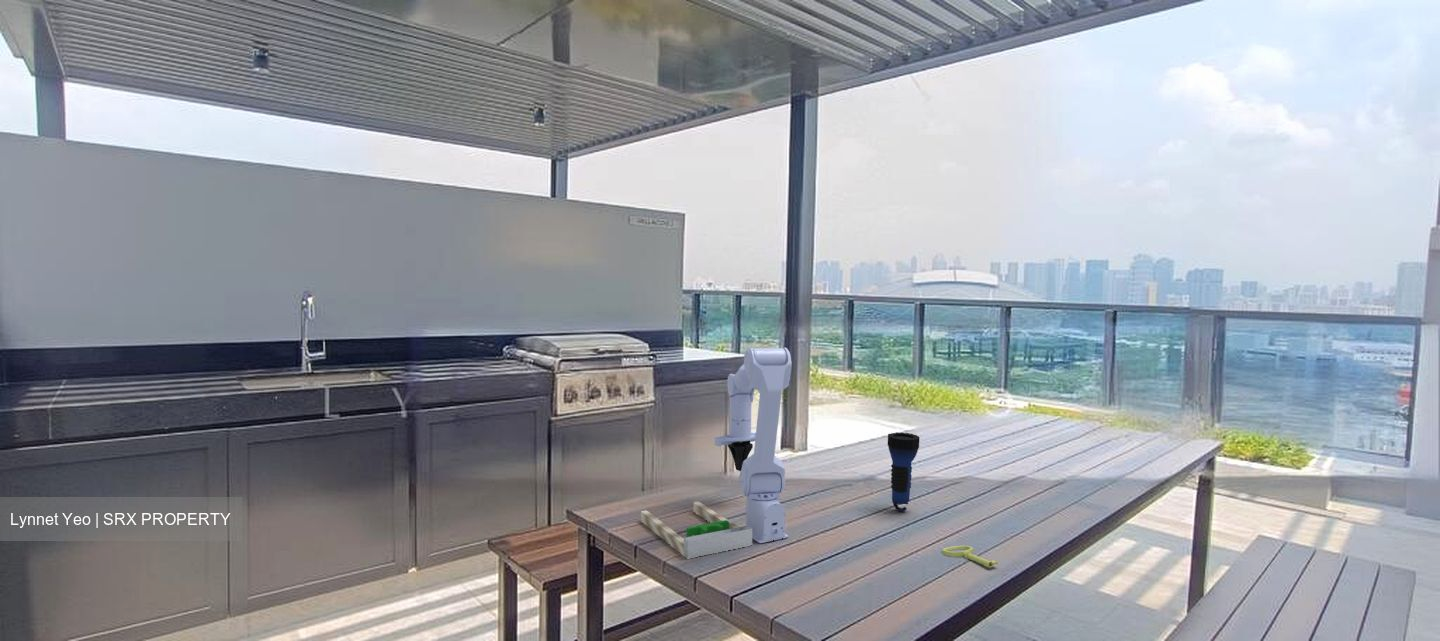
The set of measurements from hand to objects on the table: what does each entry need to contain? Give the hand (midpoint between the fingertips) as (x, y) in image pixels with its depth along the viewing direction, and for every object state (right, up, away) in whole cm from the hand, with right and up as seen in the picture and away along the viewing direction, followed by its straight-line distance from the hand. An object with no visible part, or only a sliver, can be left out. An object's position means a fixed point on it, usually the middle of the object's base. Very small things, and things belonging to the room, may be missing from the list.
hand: (739, 469), depth 171 cm
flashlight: (+42, -10, -3) cm, 44 cm away
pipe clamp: (-8, -11, -26) cm, 30 cm away
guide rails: (-12, -10, -19) cm, 25 cm away
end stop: (-6, -11, -31) cm, 33 cm away
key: (+48, -12, -33) cm, 59 cm away
